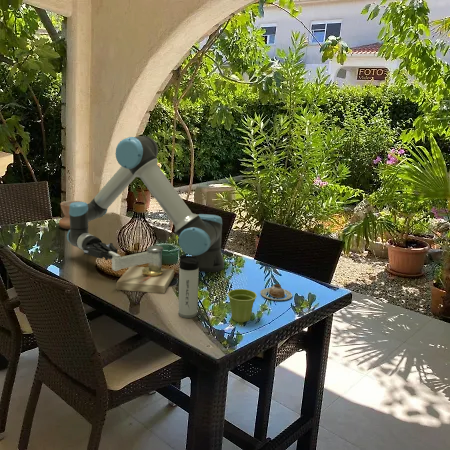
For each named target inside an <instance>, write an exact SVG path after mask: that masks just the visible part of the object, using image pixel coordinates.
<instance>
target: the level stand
mask: <svg viewBox="0 0 450 450" xmlns="http://www.w3.org/2000/svg"><path fill="white" fill-rule="evenodd" d="M145 267H146V266H145ZM145 267H144V266H133V267H128V268H127V270H126V271H125V272H124V273H123V274H122V275H121V276H120V278H119V279H118V280H117V281H116V290H117V291H128V292H129V291H130V292H139V293H151V294H152V293H153V294H165V292H167V291H166V290H168V288H169V286H170V285H171V282H172V280H173V278H174V277H175V269H174V268H173V269H172V268H162V269H163V273H162V274H161V275H157V276H147V275H144V274H143V273H142V269H143V268H145Z"/></svg>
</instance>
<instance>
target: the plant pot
mask: <svg viewBox="0 0 450 450" xmlns="http://www.w3.org/2000/svg"><path fill="white" fill-rule="evenodd" d="M227 297H228V299H229V303H230V304H229V305H230V313H231V319H232V320H233V321H234V322H237V323H245V322H249V321H250V320H251V316H252V313H253V312H252V310H253V307H254V304H255V301H256V299H257V297H258V295H257V293H256V292H255V291H253V290H250V289H246V288H238V289H237V288H235V289H232V290H229V292H228V293H227Z"/></svg>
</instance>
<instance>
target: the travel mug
mask: <svg viewBox="0 0 450 450" xmlns="http://www.w3.org/2000/svg"><path fill="white" fill-rule="evenodd" d="M198 265H199V260H198V259H197V258H196V257H193V256H192V255H187V254H182V255H180V256H179V271H178V272H179V274H178V276H179V278H178V311H177V312H178V313H177V314H178V316H179V317H180V318H183V319H193V318H195V317H196V316H197V315H198V301H199V300H198V298H199V294H198V293H199V273H200V272H199V270H198V269H199V266H198Z"/></svg>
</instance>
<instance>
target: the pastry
mask: <svg viewBox="0 0 450 450" xmlns="http://www.w3.org/2000/svg"><path fill="white" fill-rule="evenodd" d="M267 293H268V295H270V296H271V297H269V296H268V295H267ZM260 295H261V296H262V297H264V298H266V299H269V300H273V301H288V300H290V299H291V298H292V297H293V293H292V292H291V291H290V290H288V289H284V288H282V284H278V283H274V284H273V285H272V286H271V287H267V288H263V289H261V290H260Z"/></svg>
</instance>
